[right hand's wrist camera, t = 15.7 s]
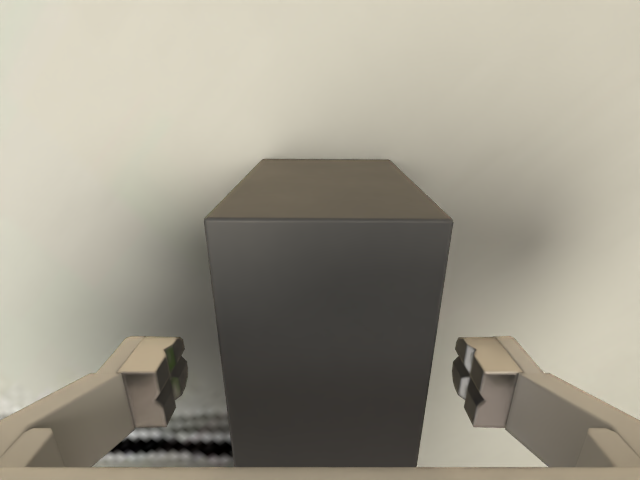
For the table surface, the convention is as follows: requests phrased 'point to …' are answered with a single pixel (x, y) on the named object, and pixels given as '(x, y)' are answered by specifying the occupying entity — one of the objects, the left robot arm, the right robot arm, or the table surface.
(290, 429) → the box
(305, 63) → the table surface
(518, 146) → the table surface
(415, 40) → the table surface
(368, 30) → the table surface
